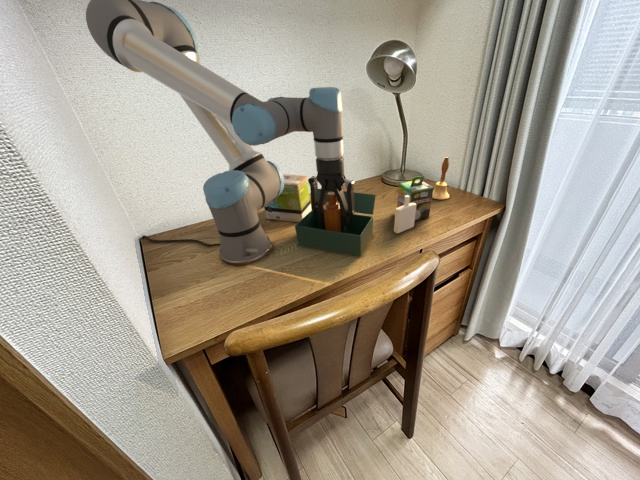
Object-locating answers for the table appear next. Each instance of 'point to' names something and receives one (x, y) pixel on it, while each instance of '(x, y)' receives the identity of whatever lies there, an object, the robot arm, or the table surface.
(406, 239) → the table surface
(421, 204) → the chalk box
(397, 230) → the perfume bottle
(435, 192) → the hand bell
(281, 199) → the tea box
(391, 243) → the table surface
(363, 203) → the flap
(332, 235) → the carton
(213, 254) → the table surface
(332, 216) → the amber bottle
